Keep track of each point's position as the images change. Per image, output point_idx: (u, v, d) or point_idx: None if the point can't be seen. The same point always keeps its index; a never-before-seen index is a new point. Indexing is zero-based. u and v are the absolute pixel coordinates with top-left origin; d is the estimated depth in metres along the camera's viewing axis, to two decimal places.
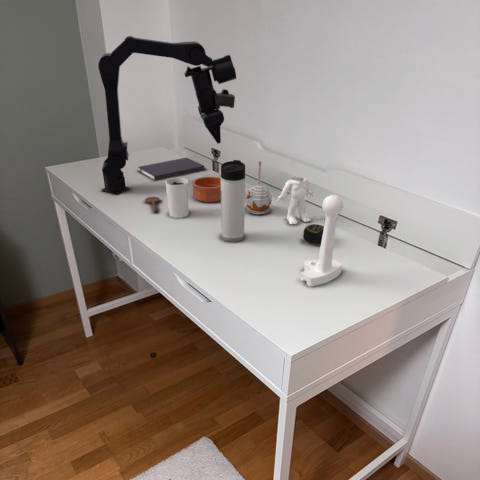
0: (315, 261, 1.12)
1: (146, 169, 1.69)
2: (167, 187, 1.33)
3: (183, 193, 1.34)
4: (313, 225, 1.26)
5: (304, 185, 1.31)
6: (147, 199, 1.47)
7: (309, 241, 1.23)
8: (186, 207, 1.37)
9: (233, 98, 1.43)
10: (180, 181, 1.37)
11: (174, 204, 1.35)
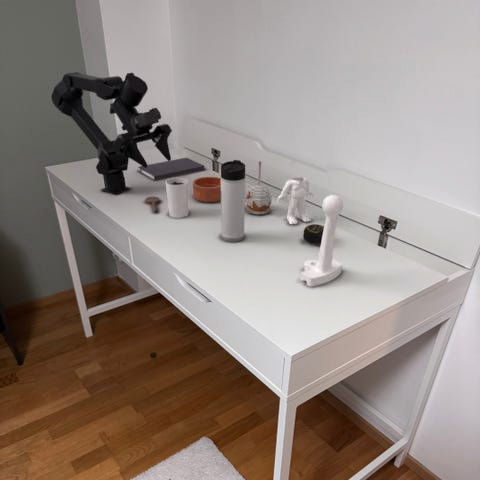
0: (315, 261, 1.12)
1: (146, 169, 1.69)
2: (167, 187, 1.33)
3: (183, 193, 1.34)
4: (313, 225, 1.26)
5: (304, 185, 1.31)
6: (147, 199, 1.47)
7: (309, 241, 1.23)
8: (186, 207, 1.37)
9: (143, 114, 1.28)
10: (180, 181, 1.37)
11: (174, 204, 1.35)
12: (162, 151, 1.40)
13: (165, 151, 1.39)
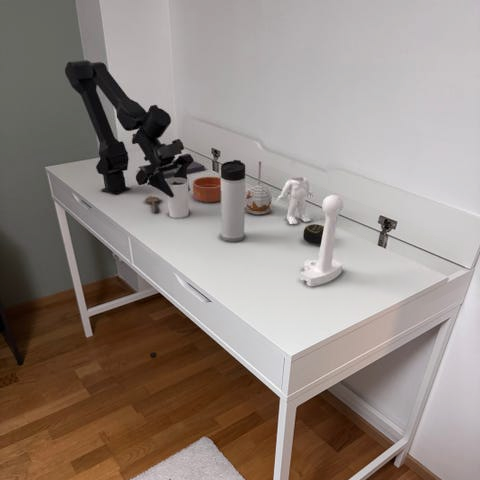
0: (315, 261, 1.12)
1: None
2: None
3: (183, 193, 1.34)
4: (313, 225, 1.26)
5: (304, 185, 1.31)
6: (147, 199, 1.47)
7: (309, 241, 1.23)
8: (186, 207, 1.37)
9: (166, 146, 1.27)
10: (180, 181, 1.37)
11: (174, 204, 1.35)
12: None
13: None
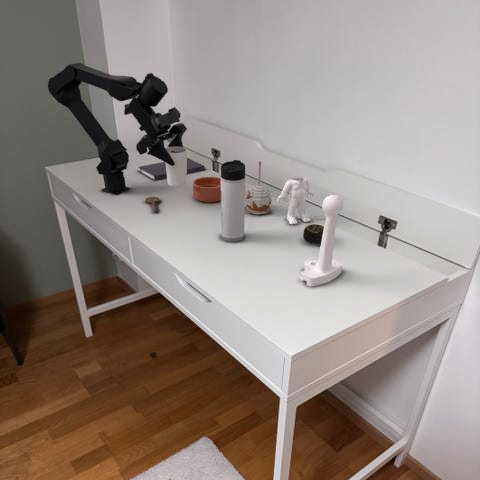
0: (315, 261, 1.12)
1: (146, 169, 1.69)
2: None
3: (184, 161, 1.36)
4: (313, 225, 1.26)
5: (304, 185, 1.31)
6: (147, 199, 1.47)
7: (309, 241, 1.23)
8: (185, 175, 1.40)
9: (166, 114, 1.29)
10: (177, 150, 1.39)
11: (175, 173, 1.37)
12: None
13: None
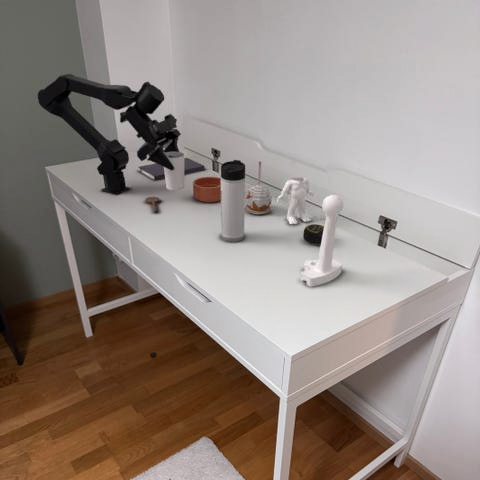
0: (315, 261, 1.12)
1: (146, 169, 1.69)
2: None
3: (182, 165, 1.42)
4: (313, 225, 1.26)
5: (304, 185, 1.31)
6: (147, 199, 1.47)
7: (309, 241, 1.23)
8: (183, 179, 1.45)
9: (165, 121, 1.34)
10: (173, 155, 1.44)
11: (174, 177, 1.42)
12: None
13: None
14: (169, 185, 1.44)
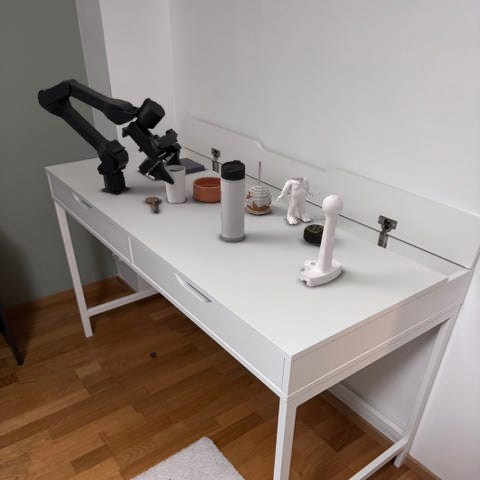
0: (315, 261, 1.12)
1: None
2: None
3: (183, 179, 1.44)
4: (313, 225, 1.26)
5: (304, 185, 1.31)
6: (147, 199, 1.47)
7: (309, 241, 1.23)
8: (184, 192, 1.47)
9: (166, 136, 1.36)
10: (174, 168, 1.47)
11: (175, 190, 1.45)
12: None
13: None
14: (170, 198, 1.47)
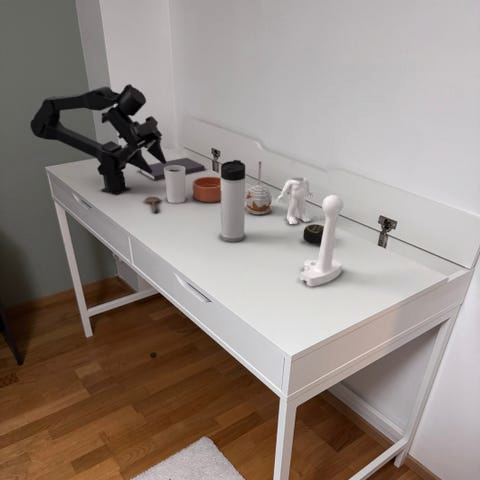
0: (315, 261, 1.12)
1: None
2: (168, 175, 1.42)
3: (183, 179, 1.44)
4: (313, 225, 1.26)
5: (304, 185, 1.31)
6: (147, 199, 1.47)
7: (309, 241, 1.23)
8: (184, 192, 1.47)
9: (146, 124, 1.37)
10: (174, 168, 1.47)
11: (175, 190, 1.45)
12: (156, 155, 1.49)
13: (160, 155, 1.49)
14: (170, 198, 1.47)
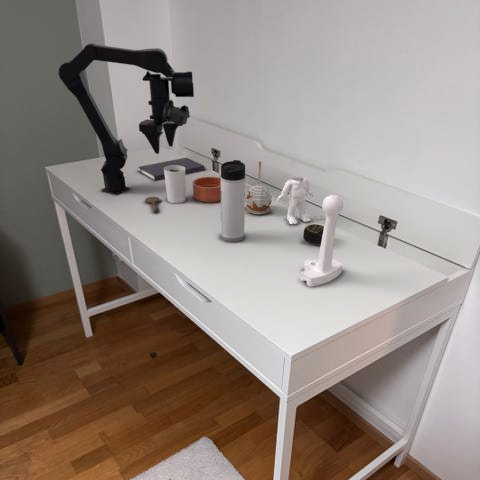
0: (315, 261, 1.12)
1: (146, 169, 1.69)
2: (168, 175, 1.42)
3: (183, 179, 1.44)
4: (313, 225, 1.26)
5: (304, 185, 1.31)
6: (147, 199, 1.47)
7: (309, 241, 1.23)
8: (184, 192, 1.47)
9: (181, 117, 1.39)
10: (174, 168, 1.47)
11: (175, 190, 1.45)
12: (167, 134, 1.51)
13: (171, 137, 1.51)
14: (170, 198, 1.47)
